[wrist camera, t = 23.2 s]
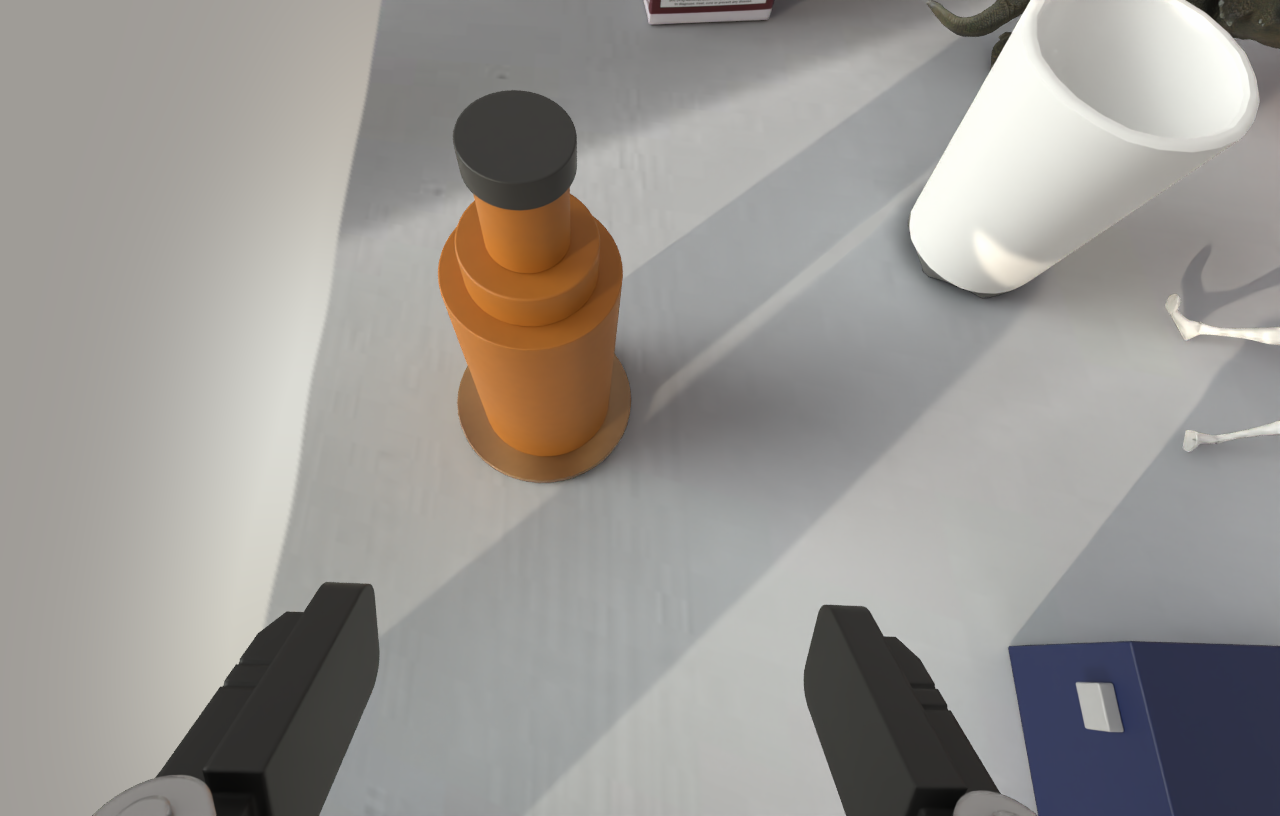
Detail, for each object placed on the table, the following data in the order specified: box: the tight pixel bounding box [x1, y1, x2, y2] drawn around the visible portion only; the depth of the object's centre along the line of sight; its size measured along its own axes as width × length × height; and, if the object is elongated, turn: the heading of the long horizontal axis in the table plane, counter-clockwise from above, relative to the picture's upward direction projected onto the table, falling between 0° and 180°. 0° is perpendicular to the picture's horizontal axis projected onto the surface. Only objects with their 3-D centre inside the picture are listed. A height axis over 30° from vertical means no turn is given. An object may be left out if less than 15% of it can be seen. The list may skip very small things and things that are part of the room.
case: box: [1008, 641, 1280, 816], centre depth 24 cm, size 16×10×7 cm, turn 89°
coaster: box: [457, 354, 631, 483], centre depth 31 cm, size 8×8×1 cm
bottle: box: [438, 90, 623, 456], centre depth 23 cm, size 6×6×17 cm
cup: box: [908, 0, 1260, 298], centre depth 31 cm, size 10×10×13 cm
